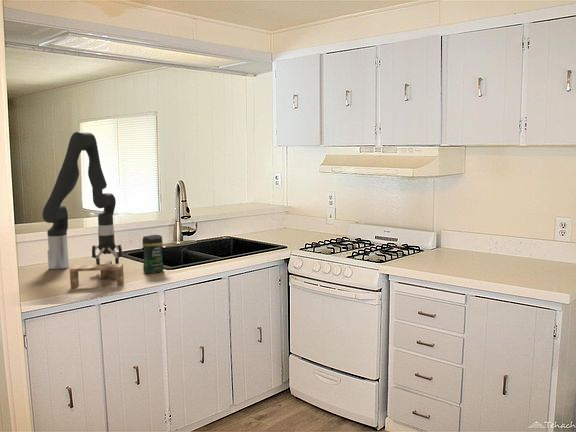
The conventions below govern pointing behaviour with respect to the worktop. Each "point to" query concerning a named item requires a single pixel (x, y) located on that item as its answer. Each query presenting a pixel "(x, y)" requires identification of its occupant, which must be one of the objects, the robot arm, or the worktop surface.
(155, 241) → the coffee jar
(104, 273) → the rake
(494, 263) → the worktop surface
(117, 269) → the shelf
